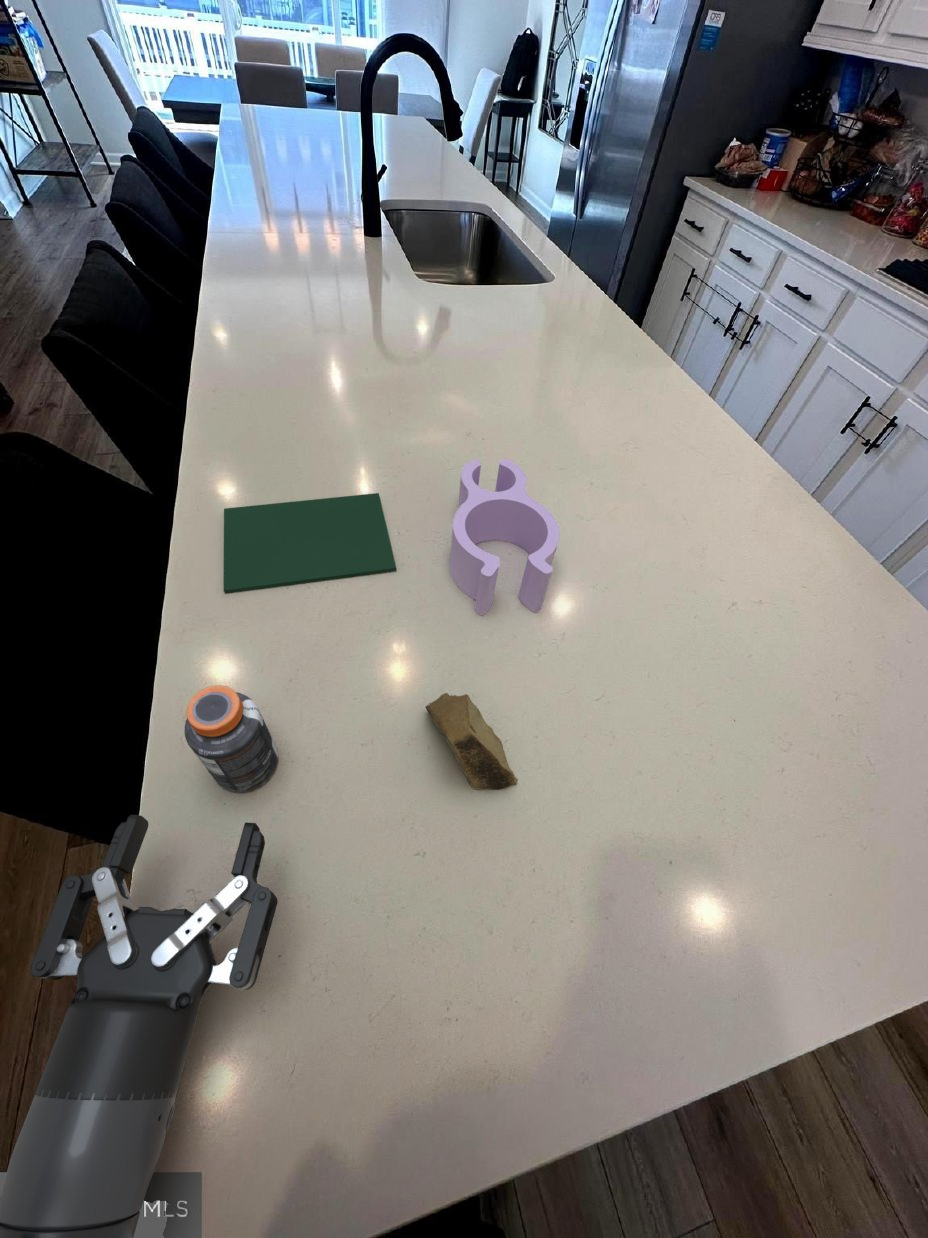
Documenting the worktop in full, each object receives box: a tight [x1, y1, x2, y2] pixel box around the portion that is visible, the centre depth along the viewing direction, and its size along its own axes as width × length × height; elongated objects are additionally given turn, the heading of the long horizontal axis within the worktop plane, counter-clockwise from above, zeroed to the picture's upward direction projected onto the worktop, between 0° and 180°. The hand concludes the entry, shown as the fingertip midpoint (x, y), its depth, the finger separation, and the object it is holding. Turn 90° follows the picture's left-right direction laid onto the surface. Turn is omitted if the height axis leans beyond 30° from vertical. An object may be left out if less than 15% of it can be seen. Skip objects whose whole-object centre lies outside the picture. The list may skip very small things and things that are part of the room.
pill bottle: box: [184, 684, 279, 794], centre depth 48 cm, size 6×6×11 cm
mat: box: [223, 492, 397, 594], centre depth 70 cm, size 20×14×1 cm
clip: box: [448, 458, 561, 616], centre depth 69 cm, size 20×12×7 cm, turn 8°
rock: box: [424, 692, 518, 791], centre depth 53 cm, size 11×9×10 cm
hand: (196, 821), depth 43 cm, fingers open, 8 cm apart
